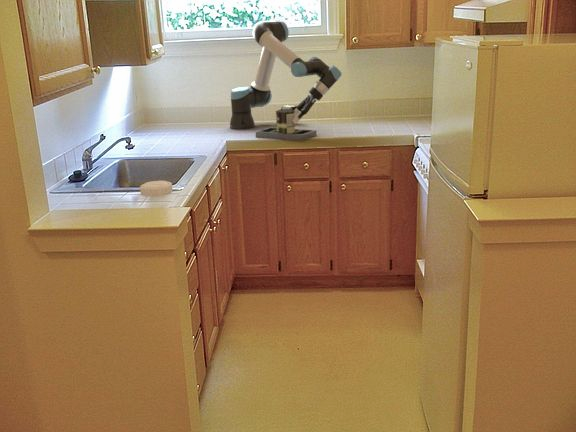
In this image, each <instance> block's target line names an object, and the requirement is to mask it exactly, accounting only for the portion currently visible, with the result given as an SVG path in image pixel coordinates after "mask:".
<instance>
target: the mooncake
mask: <svg viewBox="0 0 576 432" xmlns="http://www.w3.org/2000/svg"><path fill="white" fill-rule="evenodd" d="M139 189H140V195H142V196H145V197H160V196H166V195H169V194H171V193H172V192H173V183H172V182H170V181H166V180H162V179H161V180H151V181H147V182H145V183H143V184H141V185H140V186H139Z"/></svg>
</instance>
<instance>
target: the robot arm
mask: <svg viewBox="0 0 576 432" xmlns="http://www.w3.org/2000/svg"><path fill="white" fill-rule="evenodd" d="M253 26H254V27H253V28H252V36H253V40H255V42H256V43H257V44H258V45H259V46H260V47H261V48H262V50H261V54H260V59H259V62H258V65H257V69H256V75H255V78H254V81H253V82H251V84H250V87H249V86H241V87H236V88H233V89H232V90H231V91H230V102H231V104H230V105H231V117H230V123H229V129H232V130H233V129H234V130H242V129H244V130H245V129H251V128H252V129H253V128H255V127H256V123H255V121H254V118H253V115H252V109H253V108H262V107H265V106H268V105H269V103H271V100H272V97H273V95H272V90H271V87H270V86H269V84H270V81H271V76H272V71H273V68H274V66H275V61H276V58H277V59H279V60H280V61H281V62H283V64H285V65H286V66H287V67H288V68H289V69H290V72H291V74H292V76H293V77H296V78H302V77H308V76H317V77H318V78H319V80H317V81H315V84H314V86H312V87H311V88H310V89H309V90H308V93H309V94H308V95H307V96H306V97H305V98H303V100H302V101H301V102H300V103H299V104H298V105H296V106H297V108H296V109H295V118H294V119H293V120H292V121H293V122H294V123H295V125H297V124H298V122H299V121H300V120H301V119H302V118H303V117H304V115H307V114H308V112H310V109H311V108H312V107H313V105H315V103H316V102H317V101H318V102H319V101H320V100H322V98H323V97H324V96H325V95H326V94H327V93H328V92H329V91H330V89H331V88H333V86H334V84H335V83H337V81H338V80H339V79H340V78H341V77H342V75H343V74H342V71H341V70H339V68H338V67H337V66H335V65H333V64H332V65H331V66H329V65H328V64H327V63H325V62H324V61H323V60H322V59H320V58H319V57H317V56H312V57H311V58H310V59H309V60H308V61H307V60H306V61H305V60H303V59H302V58H301V57H299V56H298V55H297V54H296V53H295V52H293V51H292V49H290V48H289V47H287V46H286V44H284V43H283V42H285V41H286V40H287V39H288V38H289V34H290V33H289V28H288V26H287V24H286V23H285V22H284V21H283V20H278V19H273V20H261V21H258V22H257V23H256V24H255V25H253Z"/></svg>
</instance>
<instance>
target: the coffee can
mask: <svg viewBox="0 0 576 432" xmlns="http://www.w3.org/2000/svg"><path fill="white" fill-rule="evenodd" d="M275 115H276V116H275V117H276V120H275V121H276V128H277V133H289V134H290V133H293V132H295V129H296V124H295V123H294V122H293V121H292V120H293V119H294V118H295V110H290V109H285V110H281V109H278V110H275Z"/></svg>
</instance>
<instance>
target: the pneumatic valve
mask: <svg viewBox="0 0 576 432" xmlns="http://www.w3.org/2000/svg"><path fill="white" fill-rule="evenodd" d="M297 106H298V105H291V104H290V103H288V104H286V105H281V108H280V110H285V109H290V110H295V109H296V108H297Z"/></svg>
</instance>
